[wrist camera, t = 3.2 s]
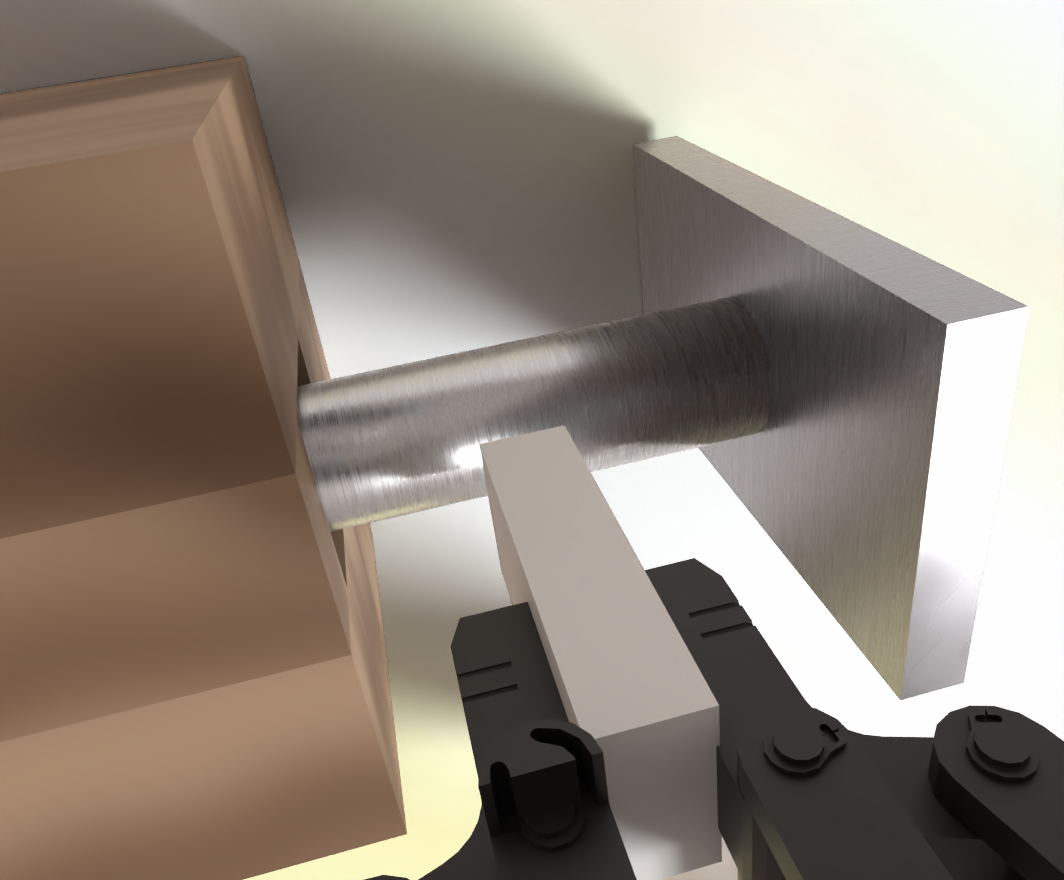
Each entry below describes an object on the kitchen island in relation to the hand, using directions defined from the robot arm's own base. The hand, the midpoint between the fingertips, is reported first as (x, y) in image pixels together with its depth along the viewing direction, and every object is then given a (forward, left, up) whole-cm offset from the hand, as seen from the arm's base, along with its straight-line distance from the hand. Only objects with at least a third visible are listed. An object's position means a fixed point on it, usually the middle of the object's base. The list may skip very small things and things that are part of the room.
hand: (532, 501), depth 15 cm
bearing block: (0, -8, -10) cm, 13 cm away
